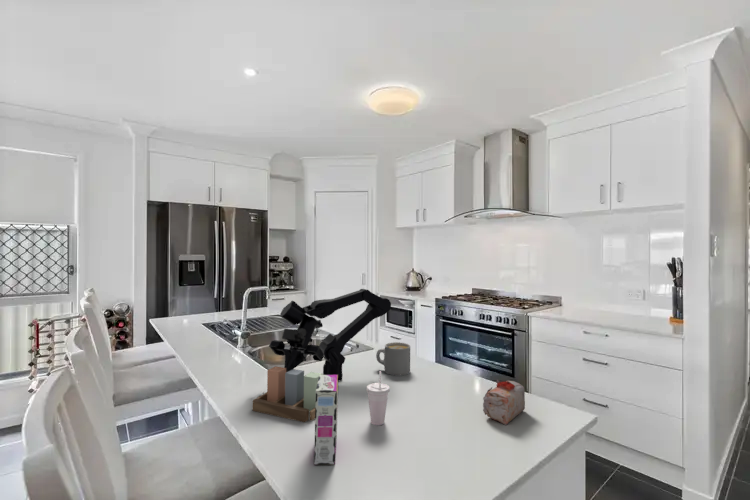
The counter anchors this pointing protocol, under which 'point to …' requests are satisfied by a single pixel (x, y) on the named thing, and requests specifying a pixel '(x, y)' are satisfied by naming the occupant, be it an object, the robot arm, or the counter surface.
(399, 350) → the coffee mug
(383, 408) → the smoothie
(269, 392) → the pink rectangular block
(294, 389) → the grey tall block
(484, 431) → the counter surface
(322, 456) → the candy bar box
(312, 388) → the sage key
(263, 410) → the wooden slotted rack
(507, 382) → the food item
